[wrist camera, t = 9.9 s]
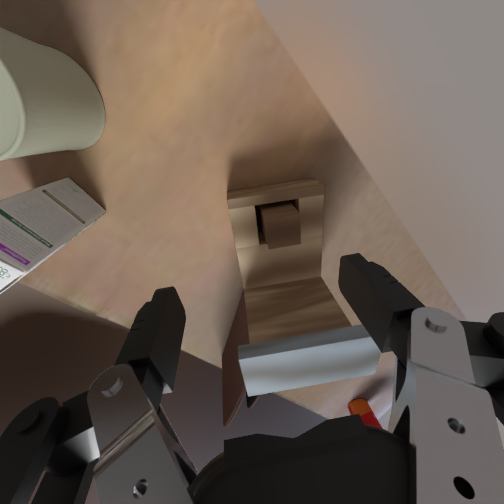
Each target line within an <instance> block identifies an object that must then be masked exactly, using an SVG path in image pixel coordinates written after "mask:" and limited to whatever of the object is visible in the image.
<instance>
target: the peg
mask: <svg viewBox="0 0 504 504" xmlns="http://www.w3.org/2000/svg"><path fill="white" fill-rule="evenodd" d="M258 206H259V214H260V222H261V228H262V231H263V234H264V237H265V239H266V242H267V245H268V248H269V249H275V248H281V247H287V246H293V245H299V244H301V229H300V213H299V212H298V211H297V209H296V208H295V207H294V206H293V205H292V204H291V202H290V201H289V200H286V201H280V202H274V203H267V204H261V205H258Z"/></svg>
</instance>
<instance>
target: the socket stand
mask: <svg viewBox="0 0 504 504" xmlns="http://www.w3.org/2000/svg"><path fill="white" fill-rule="evenodd" d="M324 186H325V185H324V184H322V183H321V182H319V181H317V180H315V179H314V178H311V179H305V180H298V181H292V182H285V183H279V184H273V185H266V186H260V187H253V188H247V189H240V190H234V191H227V202H228V208H229V213H230V218H231V224H232V229H233V234H234V240H235V245H236V250H237V256H238V261H239V266H240V272H241V277H242V282H243V288H244V296H245V305H246V314H247V323H248V332H249V341H250V344H246V345H240V346H238V356H239V363H240V367H241V371H242V375H243V379H244V382H245V386H246V390H247V394H248V397H249V396H255V395H260V394H266V393H272V392H277V391H283V390H288V389H294V388H300V387H305V386H311V385H316V384H322V383H327V382H333V381H339V380H344V379H350V378H355V377H361V376H366V375H372V374H375V372H376V369H377V365H378V361H379V358H380V354H381V351H380V349H379V348H378V346H377V345H376V344H375V342H374V341H373V339H372V338H371V336H370V335H369V333H368V332H367V330H366V329H365V327H364V326H363V324H361V325H356V326H352V325H351V324H350V322H349V320H348V319H347V317H346V316H345V314H344V313H343V311H342V309H341V308H340V306H339V305H338V303H337V301H336V300H335V298H334V297H333V295H332V294H331V292H330V290H329V289H328V287H327V286H326V284H325V282H324V281H323V279H322V278H321V260H322V235H323V210H324ZM286 200H291V204H292V205H293V206H294V207H295V208H296V209H297V211H298V212H299V213H300V229H301V244H299V245H293V246H287V247H281V248H275V249H269V248H268V245H267V242H266V239H265V237H264V234H263V232H258V230H257V222H256V214H255V206H254V205H261V204H267V203H274V202H280V201H286Z"/></svg>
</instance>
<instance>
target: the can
mask: <svg viewBox="0 0 504 504" xmlns="http://www.w3.org/2000/svg"><path fill="white" fill-rule="evenodd" d="M104 126H105V109H104V105H103V101H102V98H101V96H100V93H99V91H98V89H97V87H96V85H95V84H94V82H93V81H92V79H91V78H90V77H89V75H88V74H87V73H86V72H85V71H84V69H83V68H82V67H81V66H80V65H79V64H77V63H76V62H75V61H74V60H73V59H71V58H70V57H69V56H67V55H66V54H64V53H62V52H60V51H58V50H56V49H54V48H51V47H48V46H44V45H40V44H38V43H35V42H33V41H31V40H28V39H26V38H24V37H21V36H19V35H17V34H14V33H12V32H10V31H8V30H5V29H3V28H1V27H0V161H1V160H5V159H11V158H17V157H23V156H29V155H35V154H42V153H49V152H56V151H63V150H82V149H85V148H88V147H90V146H92V145H93V144H94V143H96V142H97V141H98V139H99V138H100V137H101V135H102V133H103V130H104Z"/></svg>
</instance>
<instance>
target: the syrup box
mask: <svg viewBox="0 0 504 504" xmlns="http://www.w3.org/2000/svg"><path fill="white" fill-rule="evenodd" d="M105 213H106V211H105V210H104V209H103V208H102V207H101V206H100V205H99V204H98V203H97V202H96V201H95V200H94V199H92V198H91V197H90V196H89V195H88V194H87V193H86V192H85V191H83V190H82V189H81V188H80V187H79V186H78V185H77V184H76V183H75V182H73V181H72V180H71V179H70V178H64V179H61V180H58V181H55V182H52V183H49V184H46V185H43V186H40V187H37V188H34V189H31V190H28V191H26V192H23V193H20V194H17V195H14V196H11V197H9V198H6V199H3V200H0V294H1V293H2V292H3V291H5V290H6V289H8V288H9V287H10V286H12V285H13V284H14V283H16V282H17V281H18V280H20V279H21V278H22V277H24V276H25V275H26V274H28V273H29V272H30V271H32V270H33V269H34V268H36V267H37V266H38V265H40V264H41V263H42V262H44V261H45V260H46V259H48V258H49V257H50V256H52V255H53V254H54V253H55V252H57V251H58V250H59V249H61V248H62V247H63V246H64V245H66V244H67V243H68V242H69V241H71V240H72V239H73V238H75V237H76V236H77V235H79V234H80V233H81V232H82V231H84V230H85V229H86V228H88V227H89V226H90V225H91V224H92V223H94V222H95V221H96V220H97V219H98V218H100V217H101V216H102V215H103V214H105Z"/></svg>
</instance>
